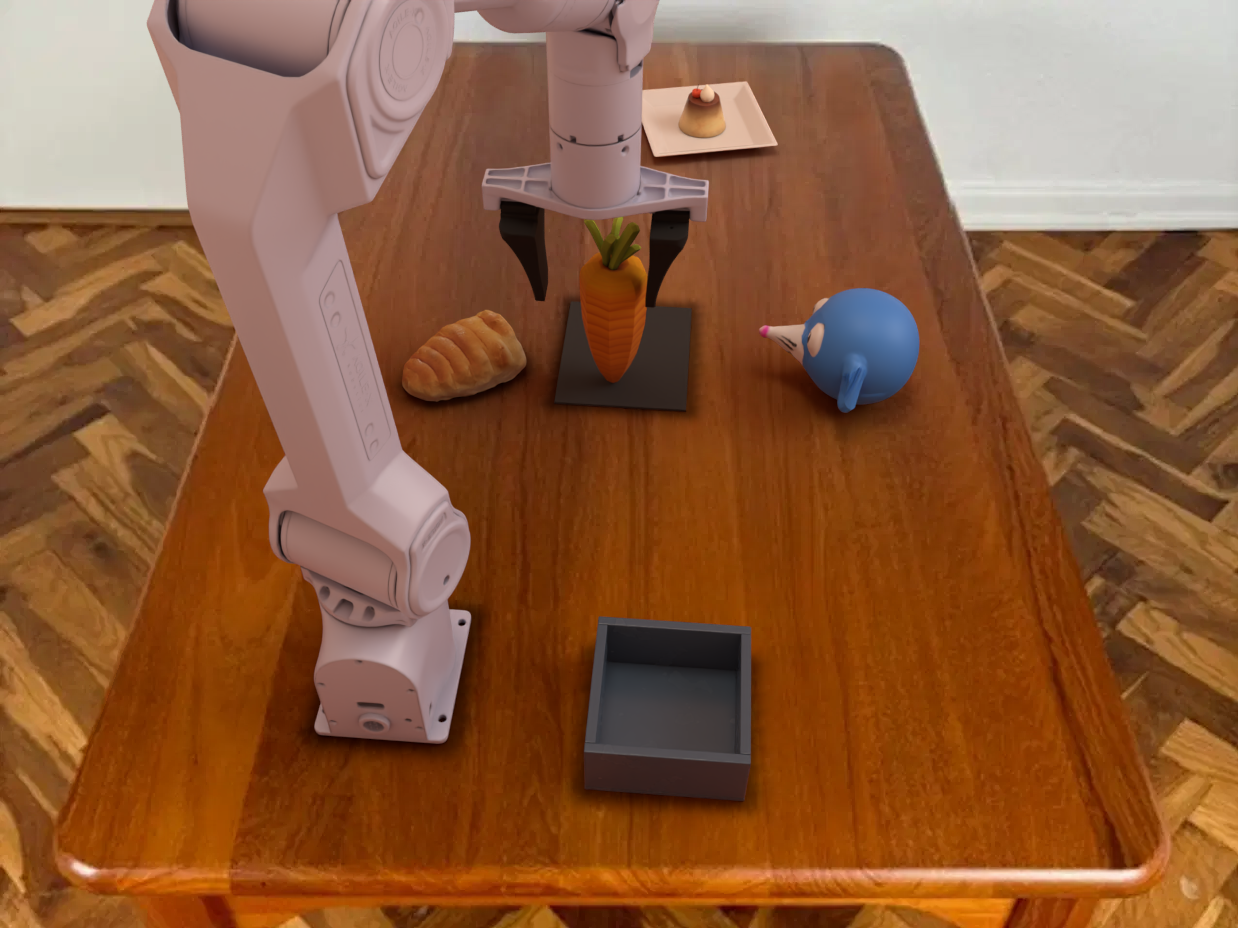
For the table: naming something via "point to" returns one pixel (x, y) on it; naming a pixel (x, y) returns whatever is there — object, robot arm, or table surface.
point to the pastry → (464, 359)
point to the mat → (650, 375)
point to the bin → (669, 709)
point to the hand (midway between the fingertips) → (596, 295)
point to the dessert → (704, 119)
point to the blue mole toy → (854, 346)
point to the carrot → (613, 299)
